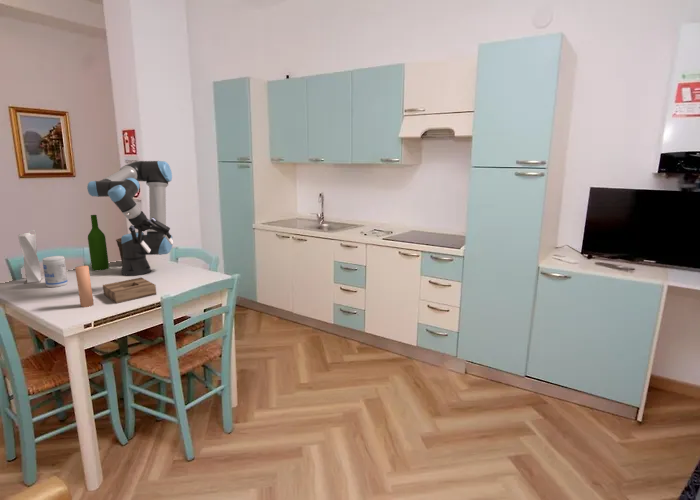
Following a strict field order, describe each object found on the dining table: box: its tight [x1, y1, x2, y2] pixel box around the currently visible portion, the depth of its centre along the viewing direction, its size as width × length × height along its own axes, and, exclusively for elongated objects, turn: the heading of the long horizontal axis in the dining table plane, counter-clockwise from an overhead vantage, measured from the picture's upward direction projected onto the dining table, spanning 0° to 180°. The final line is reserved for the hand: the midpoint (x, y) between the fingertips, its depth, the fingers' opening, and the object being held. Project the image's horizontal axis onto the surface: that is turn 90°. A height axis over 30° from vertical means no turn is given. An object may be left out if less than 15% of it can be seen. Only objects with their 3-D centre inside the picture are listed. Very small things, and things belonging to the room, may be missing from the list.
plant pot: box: [115, 237, 124, 266], centre depth 259 cm, size 16×16×16 cm
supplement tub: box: [42, 255, 69, 288], centre depth 216 cm, size 10×10×15 cm
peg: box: [74, 265, 95, 308], centre depth 186 cm, size 5×5×18 cm
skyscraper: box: [17, 229, 43, 285], centre depth 220 cm, size 8×8×28 cm
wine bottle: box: [87, 214, 110, 271], centre depth 246 cm, size 9×9×32 cm
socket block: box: [102, 277, 157, 304], centre depth 202 cm, size 18×18×5 cm
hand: (161, 247), depth 213 cm, fingers open, 13 cm apart
